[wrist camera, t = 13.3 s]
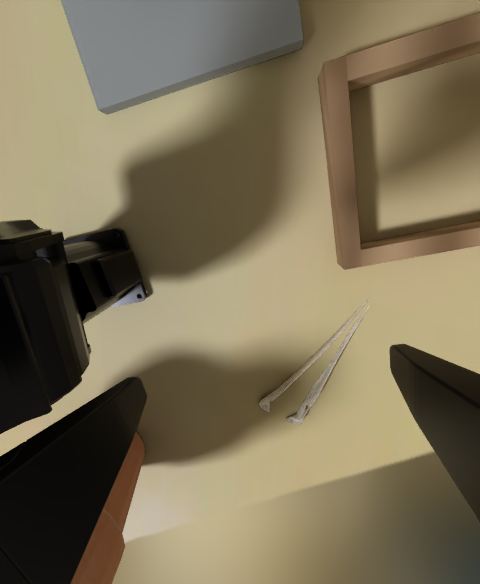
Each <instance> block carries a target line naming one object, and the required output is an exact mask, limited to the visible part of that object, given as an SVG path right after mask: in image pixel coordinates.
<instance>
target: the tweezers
mask: <svg viewBox="0 0 480 584" xmlns="http://www.w3.org/2000/svg"><path fill="white" fill-rule="evenodd" d="M370 297H371V296H370ZM370 297H369V298H370ZM369 298H368V299H367V300H366V301H365V302H364V303H363V304H362V305H361V306H360V307H359V309H358V310H357V311H356V312H355V313H354V314H353V315H352V316H351V317H350V318H349V319H348V320H347V322H346V323H345V324H344V325H343V326H342V327H341V328H340V329H339V330H338V331H337V332H336V333H335V334H334V335H333V336H332V337H331V338H330V339H329V340H328V341H327V342H326V343H325V344H324V345H323V346H322V347H321V348H320V349H319V350H318V351H317V352H316V353H315V354H314V355H313V356H312V357H311V358H310V359H309V360H308V361H307V362H306V363H305V364H304V365H303V366H302V367H301V368H300V369H299V370H298V371H297V372H296V373H295V374H294V375H292V376H291V377H290V378H289V379H288V380H286V381H285V382H284V383H283V384H282V385H281V386H280V387H278V388H277V389H276V390H274V391H273V392H272V393H271V394H269V395H268V396H267V397H265V398H264V399H262V400H261V401H260V403H259V405H260V407H261V408H263V409H264V410H265V411H267V412H269V408H270V401H271V402H272V401H273V400H274V399H275V398H276V397H278V396H279V395H280V394H281V393H283V392H284V391H285V390H286V389H287V388H288V387H289V386H290V385H291V384H292V383H293V382H294V381H295V380H296V379H297V378H298V377H299V376H300V375H301V374H302V373H303V372H305V371H306V370H307V369H308V368H309V367H310V366H311V365H312V364H313V363H314V362H315V361H316V360H317V359H318V358H319V357H320V355H322V354H323V353H324V352H325V350H326V349H327V348H328V347H329V346H330V345H331V344H332V342H333V341H334V340H335V339H336V338H337V337H338V336H339V335H340V334H341V333H342V331H343V330H344V329H345V328H346V327H347V325H348V324H349V323H350V322H351V321H352V319H353V318H354V317H355V316H356V315H357V313H358V312H359V311H360V310H361V308H362V307H363V306H364V305H365V303H366V302H367V301H368V300H369ZM370 306H371V305H370ZM370 306H369V307H370ZM369 307H368V308H367V309H366V310H365V312H364V313H363V314H362V316H361V317H360V318H359V319H358V320H357V321H356V323H355V324H354V325H353V326H352V328H351V330H350V332H349V333H348V335H347V336H346V338H345V340H344V342H343V343H342V345H341V347H340V348H339V350H338V351H337V353H336V354H335V356H334V358H333V359H332V361H331V363H330V364H329V366H328V367H327V369H326V370H325V371H324V372H323V373H322V374H321V376H320V377H319V379H318V380H317V382H316V383H315V385H314V386H313V388H312V389H311V391H310V392H309V394H308V395H307V397H306V399H305V401H304V402H303V404H302V405H301V407H300V409H299V410H298V412H297V413H296V414H294V415H293V416H290V417H287V418H286V420H285V421H286V422H287V423H291V424H298V423H299V424H301V423H302V422H303V420H304V417H305V415H306V413H307V412H308V410H309V409H310V407H311V406H312V405H313V403H314V402H315V401H316V399H317V397H318V396H319V394H320V392H321V390H322V388H323V386H324V384H325V383H326V381H327V379H328V377H329V375H330V373H331V371H332V370H333V368H334V366H335V364H336V362H337V360H338V358H339V357H340V355H341V353H342V351H343V350H344V348H345V346H346V345H347V343H348V341H349V340H350V338H351V336H352V334H353V333H354V331H355V330H356V328H357V327H358V325H359V323H360V321H361V320H362V318H363V317H364V315H365V313H366V312H367V310H368V309H369ZM306 405H308V408H307V410H306V409H305V408H306Z"/></svg>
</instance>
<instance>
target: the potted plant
mask: <svg viewBox="0 0 480 584" xmlns="http://www.w3.org/2000/svg"><path fill="white" fill-rule="evenodd" d="M144 455H145V448H144V443H143V441H142V440H141V438H140V436H139V434H138V433H137V432H136V433H135V436H134V439H133V441H132V444H131V446H130V448H129V451H128V453H127V455H126V458H125V460H124V462H123V465H122V467H121V469H120V471H119V474H118V476H117V478H116V481H115V483H114V485H113V488H112V490H111V492H110V494H109V497H108V499H107V501H106V504H105V506H104V508H103V511H102V513H101V515H100V518H99V520H98V522H97V524H96V527H95V529H94V531H93V534H92V536H91V538H90V541H89V543H88V545H87V547H86V550H85V552H84V554H83V557H82V559H81V561H80V564H79V566H78V568H77V571H76V573H75V575H74V577H73V580H72V582H71V584H112V582H113V579H114V576H115V574H116V571H117V568H118V566H119V563H120V561H121V558H122V554H123V551H124V548H125V544H124V539H123V535H122V532H123V528H124V525H125V522H126V518H127V515H128V511H129V508H130V504H131V501H132V497H133V494H134V490H135V487H136V483H137V480H138V476H139V473H140V469H141V466H142V462H143V459H144Z"/></svg>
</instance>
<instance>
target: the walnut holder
mask: <svg viewBox="0 0 480 584" xmlns="http://www.w3.org/2000/svg"><path fill="white" fill-rule="evenodd" d="M476 53H480V13H477V14H473V15H470V16H467V17H464V18H461V19H458V20H455V21H452V22H449V23H446V24H443V25H439V26H436V27H433V28H430V29H427V30H424V31H421V32H418V33H415V34H412V35H409V36H405V37H402V38H399V39H396V40H393V41H390V42H387V43H384V44H381V45H378V46H374V47H371V48H368V49H365V50H362V51H359V52H356V53H353V54H350V55H347V56H344V57H340V58H337V59H334V60H331V61H328V62H325V63H324V64H323V67H322V70H321V72H320V75H319V77H318V83H319V92H320V101H321V111H322V120H323V130H324V139H325V149H326V158H327V168H328V177H329V186H330V196H331V205H332V215H333V224H334V234H335V243H336V253H337V262H338V264H339V265H340V266H341V267H342V268H343V269H344V270H345V269H351V268H356V267H362V266H368V265H373V264H379V263H385V262H390V261H396V260H401V259H407V258H413V257H418V256H424V255H430V254H435V253H441V252H446V251H452V250H458V249H463V248H469V247H474V246H480V221H476V222H470V223H465V224H460V225H455V226H450V227H445V228H439V229H434V230H429V231H424V232H419V233H413V234H408V235H403V236H398V237H393V238H388V239H382V240H377V241H372V242H367V243H362V244H360V234H359V221H358V207H357V194H356V181H355V168H354V155H353V141H352V128H351V115H350V102H349V91H352V90H356V89H359V88H362V87H366V86H369V85H373V84H376V83H379V82H383V81H386V80H389V79H393V78H396V77H399V76H403V75H406V74H409V73H413V72H416V71H419V70H423V69H426V68H430V67H433V66H436V65H440V64H443V63H446V62H450V61H453V60H456V59H460V58H463V57H466V56H470V55H473V54H476Z"/></svg>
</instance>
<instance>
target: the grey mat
mask: <svg viewBox="0 0 480 584" xmlns="http://www.w3.org/2000/svg"><path fill="white" fill-rule="evenodd" d="M61 2H62V5H63V8H64V11H65V14H66V17H67V20H68V23H69V26H70V29H71V32H72V34H73V37H74V40H75V43H76V46H77V49H78V52H79V55H80V58H81V61H82V64H83V67H84V70H85V73H86V76H87V79H88V82H89V84H90V87H91V90H92V93H93V96H94V99H95V102H96V105H97V108H98V110H99V111H101V112H103V113H105V114H110V113H113V112H116V111H119V110H122V109H125V108H128V107H131V106H134V105H137V104H140V103H143V102H146V101H148V100H151V99H154V98H157V97H160V96H163V95H166V94H169V93H172V92H175V91H178V90H181V89H184V88H187V87H190V86H193V85H196V84H199V83H202V82H205V81H208V80H211V79H214V78H216V77H219V76H222V75H225V74H228V73H231V72H234V71H237V70H240V69H243V68H246V67H249V66H252V65H255V64H258V63H261V62H264V61H267V60H270V59H273V58H276V57H279V56H282V55H285V54H287V53H290V52H293V51H296V50H299V49H302V44H303V32H302V24H301V15H300V6H299V0H61Z"/></svg>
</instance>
